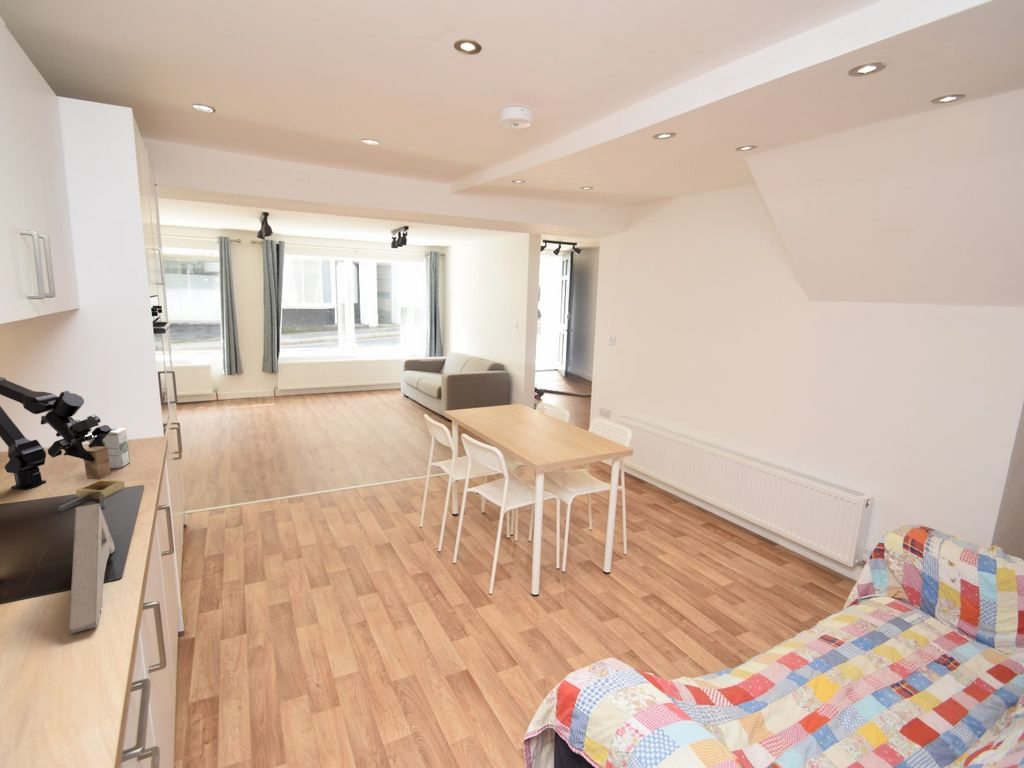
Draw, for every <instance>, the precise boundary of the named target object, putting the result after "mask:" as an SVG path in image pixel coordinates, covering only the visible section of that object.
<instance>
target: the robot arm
mask: <svg viewBox="0 0 1024 768" xmlns="http://www.w3.org/2000/svg"><path fill="white" fill-rule="evenodd" d="M0 396H3V397H5V398H7V399H10V400H13V401H15V402H17V403H19V404H21V405H22V406H23V408H24V409H25V411H28V412H30V413H31V414H33V415H39V414H43V413H46V414H45V415H41V417H40V418H41V419H40V425H42V426H43V425H46V424H48V425H49V426H50V427H51V428H52V429H53V430H54V431H55V432H56V434H55V436H56V437H62V438H61V439H58V440H55V441H54V442H53V443H52V444H51V446H49V447H48V449H47V452H46V450H45V448H44V447H43V446H42V445H41V444H40V442H39V440H38V439H33V440H30V439H28V438H26V437H25V435H24V434H23V432H21V430H20V429H19V428H18V426H17V425H16V424H15V423H14V421H13V420H12V419H11V417H10V416H9V415H8V413H6V411H5V410H4V409H3V408H2V406H1V405H0V438H1V440H2V441H3V442H4V443H5V445H6V446H7V447H8V448H7V457H8V459H9V460H8V462H7V463H6V464H5V465H4V469H5V471H6V473H8V474H9V473H10V474H13V476H14V480H15V481H14V483H15V485H12V486H11V487H10V488H11V489H20V490H21V489H22V490H30V489H32V488H35V487H37V486H41V485H42V484H46V483H47V480H43V479H42V474H41V471H40V467H41V466H44V465H45V462H46V457H47V454H48V455H49V456H50V457H51V458H56V457H59V456H61V455H62V453H63V451H62V450H64V453H63V456H65V457H66V456H70V457H74V458H78V459H81V460H83V461H84V460H87V461H90V462H94V460H95V459H94V458H93V457H92V456H91V455H90V454H89V453H88V452H87V451H86V450H85V449H86V448H85V447H84V445H83V443H84V442H85V443H86V442H88V446H87V447H88V448H91V447H93V446H102V447H104V444H103V441H102V440H103V439H104V438H105V437H106V436H107V435H108V434H109V433H110V431H111V430H112V429H111V427H110V426H109V425H106V424H105V425H103V424H102V425H101V426H99V425H100V423H101V419H100V417H99V416H98V415H97V414H95V413H94V414H92V415H89V416H87V417H86V419H83V420H80V419H76V420H75V419H74V418H73V416H75V415H76V413H78V412H79V410H80V409H81V408H82V406H83V405H84V403H85V399H84V398H83V396H82V395H79V394H77V393H73V392H70V391H69V390H65V391H61V392H60V393H59V396H57V394H55V393H52V392H46V391H36V390H32V389H30V388H27V387H24V386H22V385H19V384H17V383H14V382H12V381H9V380H7V378H5V377H4V376H3V377H1V376H0ZM94 427H95V428H94ZM92 428H94V429H93V430H92ZM91 431H92V432H91ZM90 432H91V433H90Z"/></svg>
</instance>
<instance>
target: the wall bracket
mask: <svg viewBox="0 0 1024 768" xmlns="http://www.w3.org/2000/svg"><path fill="white" fill-rule="evenodd" d="M73 535H74V536H73V551H72V554H73V555H72V569H71V571H72V572H71V587H70V590H71V591H70V603H69V604H70V606H69V607H70V608H69V623H68V624H69V626H68V632H69V633H70V635H72V634H75V633H79V632H83V631H87V630H91V629H95V628H97V627H98V626H99V621H100V620H99V618H100V619H101V612H100V611H101V608H102V609H103V595H104V594H103V591H104V583H105V582H104V581H105V575H106V574H105V572H106V569H107V563H108V560H109V556H110V555H111V554H114V553H115V552H114V551H115V548H116V547H115V543H114V540H113V537H112V534H111V532H110V529H109V527H108V524H107V521H106V518H105V516H104V513H103V511H102V508H101V507H100V502H98V503H92V504H86V505H82V506H81V505H80V506H76V507H75V513H74V533H73ZM113 552H114V553H113Z"/></svg>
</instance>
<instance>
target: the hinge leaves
mask: <svg viewBox="0 0 1024 768" xmlns="http://www.w3.org/2000/svg"><path fill="white" fill-rule="evenodd" d="M125 486H126V485H125V480H116V479H115V480H113V479H104V478H102V479H100V480H97V479H96V480H95V481H92V482H90V483H88V484H86V485H84V486H81V487H80V488H78V489H76V490H75V493H76V498H75V499H73V500H70V501H68V502H66V503H64V504H61V505H59V506H58V507H57V510H58V511H60V512H59V513H62V511H63V512H65V511H67V510H69V509H71V508H73V507H75V506H76V507H77V505H79V504H81V503H83V502H86V501H88V500H90V499H97V500H98V501H99V502H98V503H99V504H100V507H101V509H104V508H106V501H105V498H107V497H109V496H111V495H113V494H115V493H118V492H119V491H121V490H123V489H125V488H126V487H125ZM100 488H101V490H100ZM102 488H103V489H102ZM66 509H67V510H66ZM58 511H57V512H58Z"/></svg>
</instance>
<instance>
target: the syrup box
mask: <svg viewBox="0 0 1024 768" xmlns="http://www.w3.org/2000/svg"><path fill="white" fill-rule="evenodd" d="M110 428H111V427H110ZM111 429H112V430H111V431H110V433H109V434H108V435H107V436H106V437H105V438H104V439H103V440H102V441H103V444H104V447H107V449H108V456H109V463H110V469H122V468H124V467H126V466H127V465H129V464H130V463H131V458H130V449H129V441H128V440H129V439H128V432H127V431H128V430H127V428H126V427H112V428H111ZM128 463H129V464H128ZM125 465H126V466H125ZM121 467H122V468H121Z"/></svg>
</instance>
